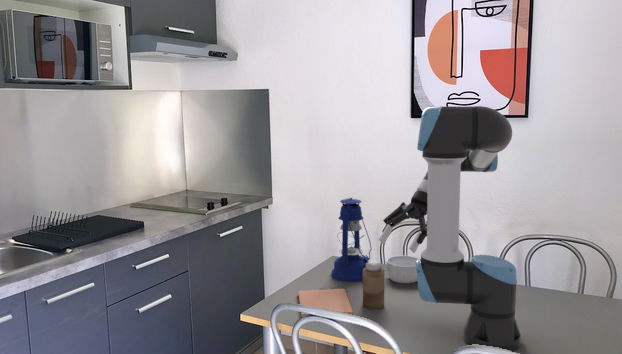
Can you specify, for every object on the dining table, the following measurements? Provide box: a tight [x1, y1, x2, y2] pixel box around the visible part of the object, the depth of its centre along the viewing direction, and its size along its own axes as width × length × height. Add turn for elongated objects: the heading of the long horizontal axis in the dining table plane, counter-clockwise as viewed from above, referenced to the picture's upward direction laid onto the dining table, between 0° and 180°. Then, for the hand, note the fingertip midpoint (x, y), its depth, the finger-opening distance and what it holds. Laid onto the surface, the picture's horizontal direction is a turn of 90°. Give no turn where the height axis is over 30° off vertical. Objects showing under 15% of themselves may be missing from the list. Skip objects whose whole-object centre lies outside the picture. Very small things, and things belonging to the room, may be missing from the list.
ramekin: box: [385, 254, 420, 284], centre depth 198 cm, size 13×13×7 cm
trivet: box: [298, 288, 354, 317], centre depth 175 cm, size 20×16×2 cm
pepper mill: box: [362, 261, 385, 310], centre depth 173 cm, size 7×7×14 cm
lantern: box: [331, 197, 372, 283], centre depth 201 cm, size 17×15×30 cm
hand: (395, 246), depth 178 cm, fingers open, 13 cm apart
